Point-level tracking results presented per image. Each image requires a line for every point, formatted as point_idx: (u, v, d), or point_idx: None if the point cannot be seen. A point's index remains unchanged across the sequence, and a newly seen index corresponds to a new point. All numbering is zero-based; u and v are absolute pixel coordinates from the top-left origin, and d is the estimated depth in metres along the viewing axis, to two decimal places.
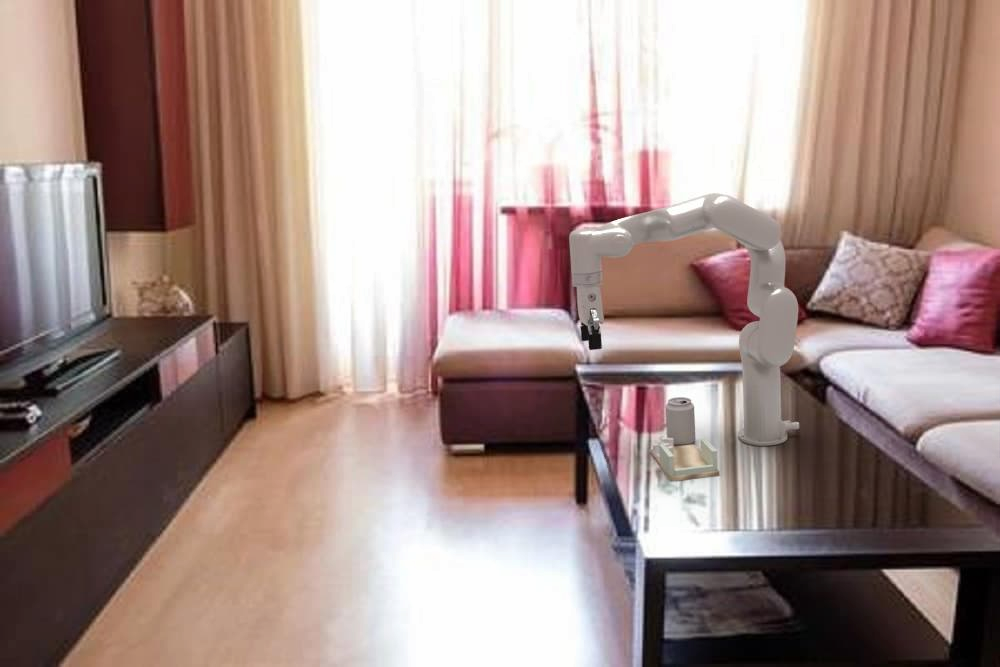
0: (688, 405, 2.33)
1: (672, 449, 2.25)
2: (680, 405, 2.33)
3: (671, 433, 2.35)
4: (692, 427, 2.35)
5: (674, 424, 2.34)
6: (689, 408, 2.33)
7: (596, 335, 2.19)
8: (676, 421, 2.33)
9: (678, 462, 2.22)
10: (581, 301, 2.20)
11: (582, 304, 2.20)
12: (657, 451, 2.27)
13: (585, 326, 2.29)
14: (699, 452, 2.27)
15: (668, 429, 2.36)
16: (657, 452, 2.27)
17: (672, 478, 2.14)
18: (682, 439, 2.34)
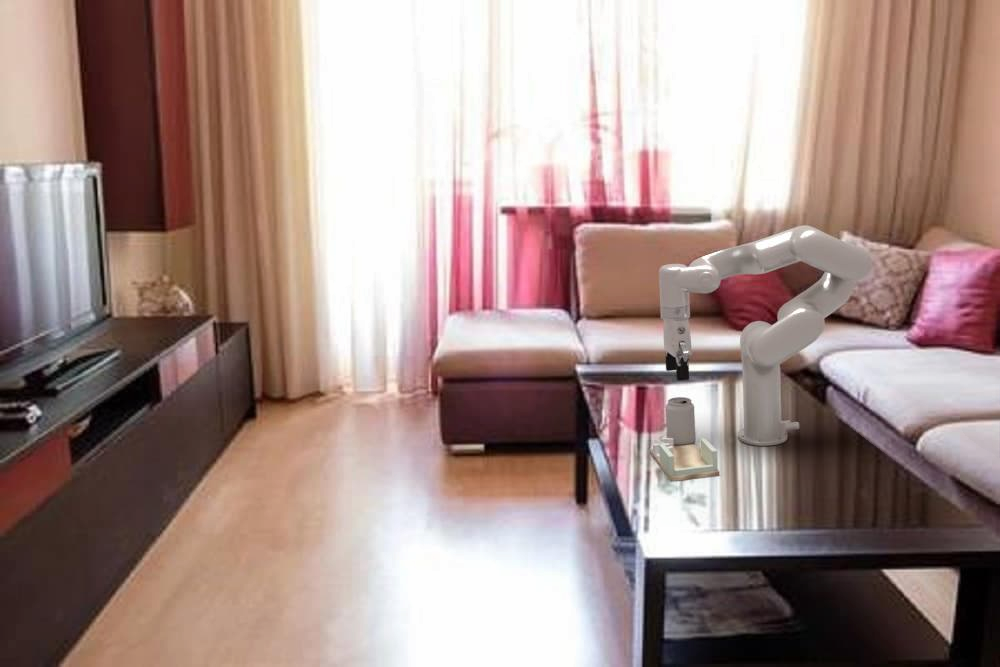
0: (688, 405, 2.33)
1: (672, 449, 2.25)
2: (680, 405, 2.33)
3: (671, 433, 2.35)
4: (692, 427, 2.35)
5: (674, 424, 2.34)
6: (689, 408, 2.33)
7: (684, 367, 2.27)
8: (676, 421, 2.33)
9: (678, 462, 2.22)
10: (670, 334, 2.28)
11: (671, 336, 2.28)
12: (657, 451, 2.27)
13: (670, 356, 2.37)
14: (699, 452, 2.27)
15: (668, 429, 2.36)
16: (657, 452, 2.27)
17: (672, 478, 2.14)
18: (682, 439, 2.34)
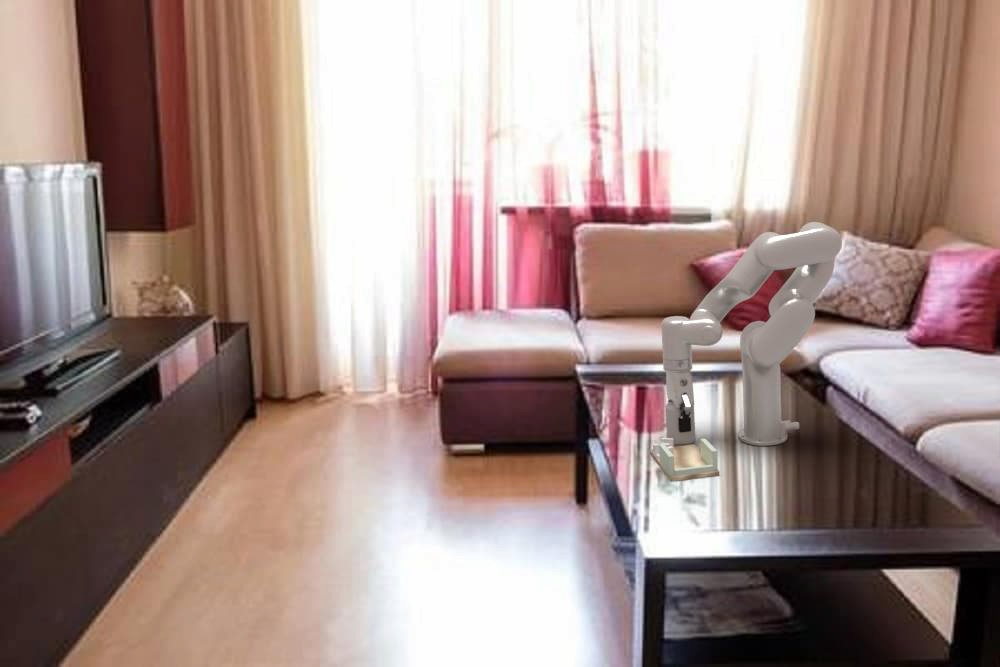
0: None
1: (672, 449, 2.25)
2: (680, 405, 2.33)
3: (671, 433, 2.35)
4: (692, 427, 2.35)
5: (674, 424, 2.34)
6: None
7: (686, 419, 2.31)
8: (676, 421, 2.33)
9: (678, 462, 2.22)
10: (672, 385, 2.31)
11: (674, 388, 2.31)
12: (657, 451, 2.27)
13: None
14: (699, 452, 2.27)
15: (668, 429, 2.36)
16: (657, 452, 2.27)
17: (672, 478, 2.14)
18: (682, 439, 2.34)
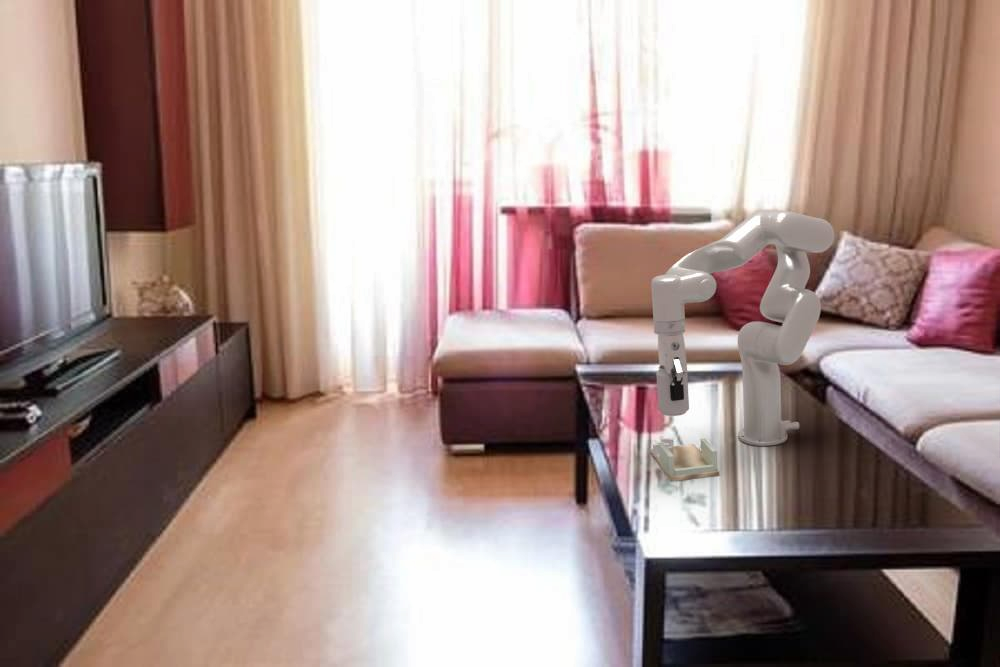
0: None
1: (672, 449, 2.25)
2: None
3: (662, 402, 2.17)
4: (685, 395, 2.16)
5: (665, 392, 2.16)
6: None
7: (678, 386, 2.13)
8: (667, 388, 2.15)
9: (678, 462, 2.22)
10: (663, 349, 2.13)
11: (665, 353, 2.13)
12: (657, 451, 2.27)
13: None
14: (699, 452, 2.27)
15: (659, 397, 2.18)
16: (657, 452, 2.27)
17: (672, 478, 2.14)
18: (674, 408, 2.16)
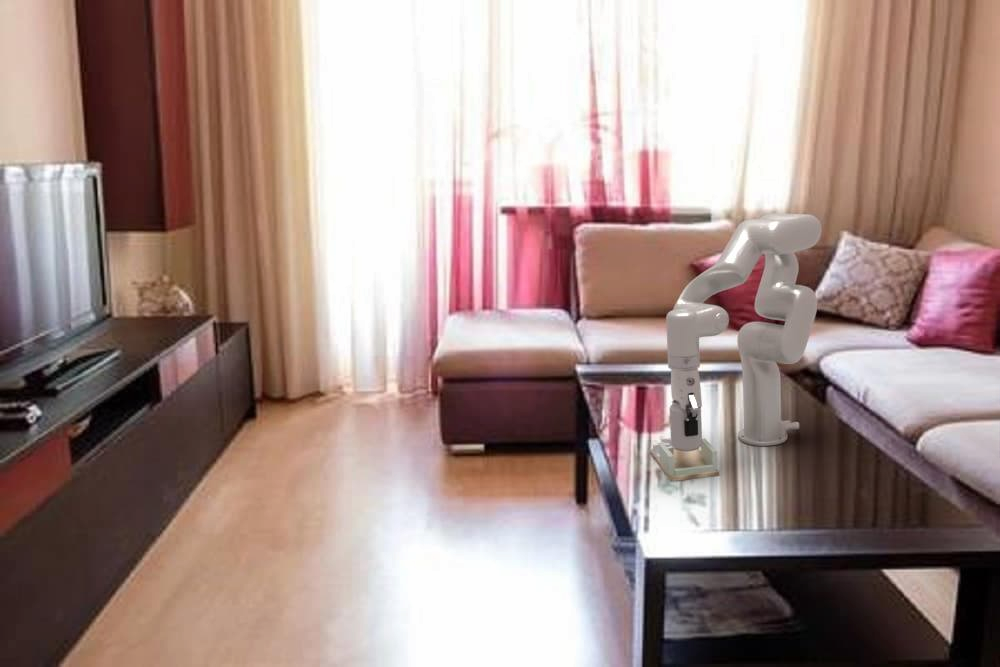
0: None
1: (672, 449, 2.25)
2: (686, 406, 2.12)
3: (676, 437, 2.15)
4: (699, 430, 2.14)
5: (679, 428, 2.14)
6: None
7: (693, 421, 2.11)
8: (681, 423, 2.13)
9: (678, 462, 2.22)
10: (678, 384, 2.11)
11: (679, 388, 2.11)
12: (657, 451, 2.27)
13: None
14: (699, 452, 2.27)
15: (672, 433, 2.16)
16: (657, 452, 2.27)
17: (672, 478, 2.14)
18: (687, 444, 2.14)
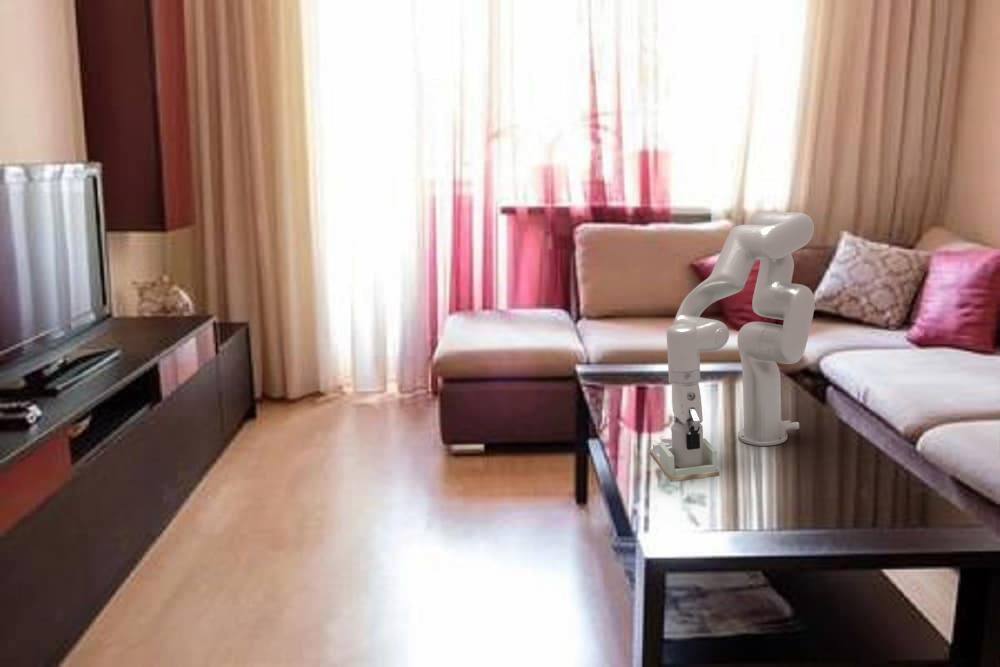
0: None
1: None
2: None
3: (678, 456, 2.16)
4: (700, 449, 2.16)
5: (681, 447, 2.15)
6: None
7: (695, 435, 2.11)
8: (683, 443, 2.15)
9: None
10: (679, 399, 2.12)
11: (680, 403, 2.12)
12: (657, 451, 2.27)
13: None
14: None
15: (674, 452, 2.17)
16: (657, 452, 2.27)
17: (672, 478, 2.14)
18: (690, 463, 2.15)
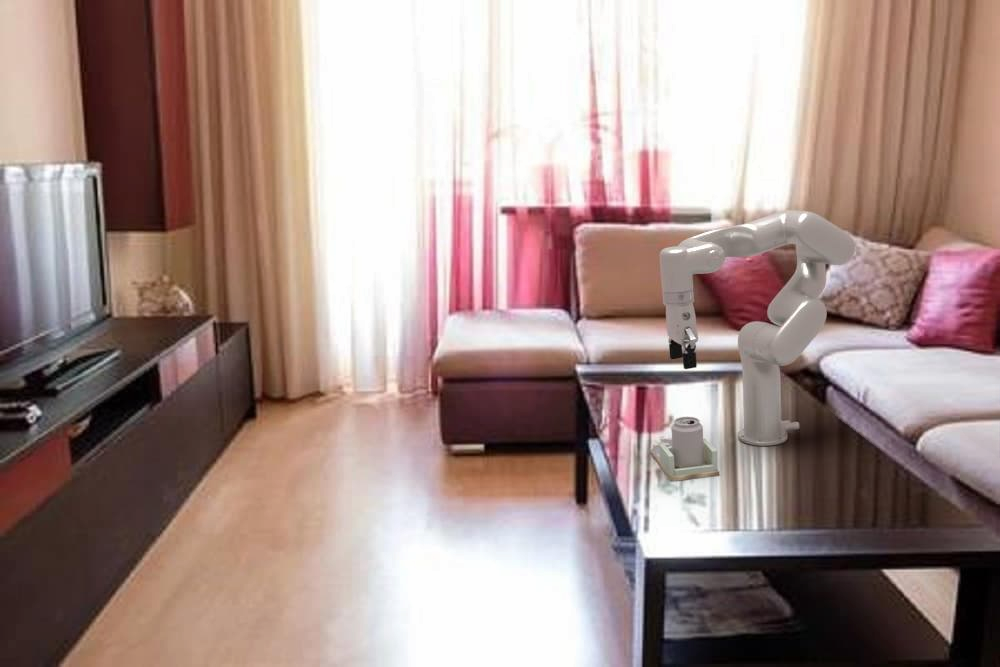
0: (696, 426, 2.15)
1: (672, 449, 2.25)
2: (688, 425, 2.14)
3: (678, 456, 2.16)
4: (701, 449, 2.16)
5: (681, 447, 2.15)
6: (697, 429, 2.14)
7: (691, 354, 2.16)
8: (683, 443, 2.15)
9: None
10: (674, 320, 2.17)
11: (676, 323, 2.16)
12: (657, 451, 2.27)
13: (674, 344, 2.26)
14: None
15: (674, 452, 2.17)
16: (657, 452, 2.27)
17: (672, 478, 2.14)
18: (690, 463, 2.15)
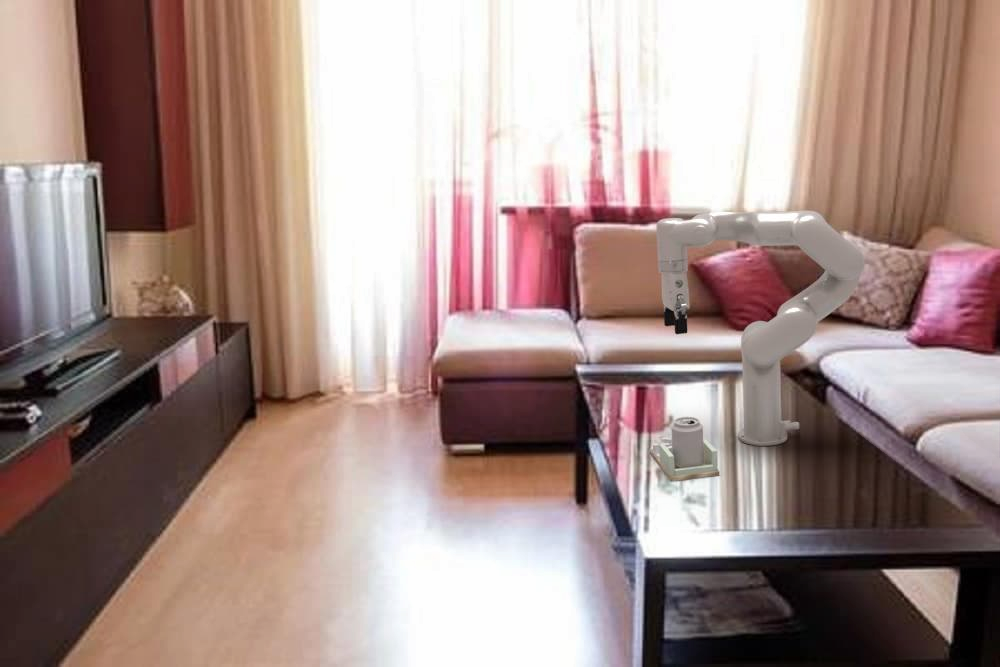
0: (696, 426, 2.15)
1: (672, 449, 2.25)
2: (688, 425, 2.14)
3: (678, 456, 2.16)
4: (701, 449, 2.16)
5: (681, 447, 2.15)
6: (697, 429, 2.14)
7: (682, 320, 2.29)
8: (683, 443, 2.15)
9: None
10: (668, 287, 2.30)
11: (669, 290, 2.29)
12: (657, 451, 2.27)
13: (668, 312, 2.39)
14: None
15: (674, 452, 2.17)
16: (657, 452, 2.27)
17: (672, 478, 2.14)
18: (690, 463, 2.15)
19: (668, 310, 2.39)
